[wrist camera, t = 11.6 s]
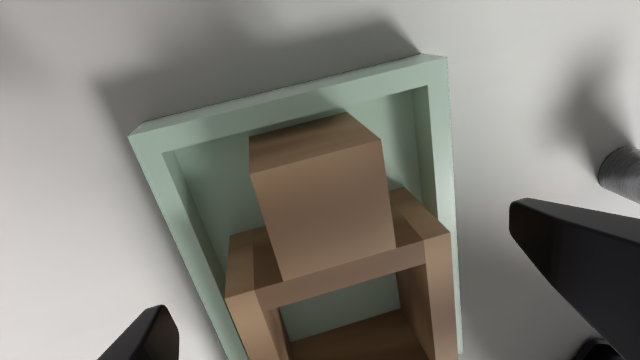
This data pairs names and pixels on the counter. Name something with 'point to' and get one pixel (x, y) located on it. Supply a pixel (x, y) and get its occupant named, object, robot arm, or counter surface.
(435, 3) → the counter surface
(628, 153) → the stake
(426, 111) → the tray
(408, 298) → the wooden frame stand
